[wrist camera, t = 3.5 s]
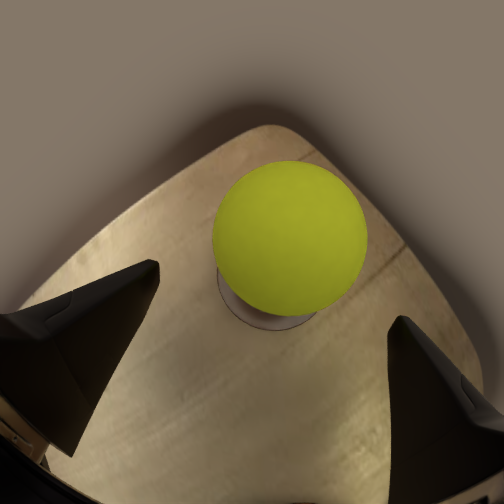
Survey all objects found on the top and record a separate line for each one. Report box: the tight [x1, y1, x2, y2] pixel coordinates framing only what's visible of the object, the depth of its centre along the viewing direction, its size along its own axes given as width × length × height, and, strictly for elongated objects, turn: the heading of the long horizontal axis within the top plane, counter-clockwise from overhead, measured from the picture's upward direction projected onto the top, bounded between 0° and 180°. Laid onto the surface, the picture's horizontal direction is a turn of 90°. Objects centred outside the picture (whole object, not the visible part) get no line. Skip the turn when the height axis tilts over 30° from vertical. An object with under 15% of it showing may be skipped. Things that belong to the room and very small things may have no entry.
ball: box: [212, 161, 367, 316], centre depth 12 cm, size 7×7×7 cm
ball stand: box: [217, 267, 316, 331], centre depth 17 cm, size 8×8×6 cm
